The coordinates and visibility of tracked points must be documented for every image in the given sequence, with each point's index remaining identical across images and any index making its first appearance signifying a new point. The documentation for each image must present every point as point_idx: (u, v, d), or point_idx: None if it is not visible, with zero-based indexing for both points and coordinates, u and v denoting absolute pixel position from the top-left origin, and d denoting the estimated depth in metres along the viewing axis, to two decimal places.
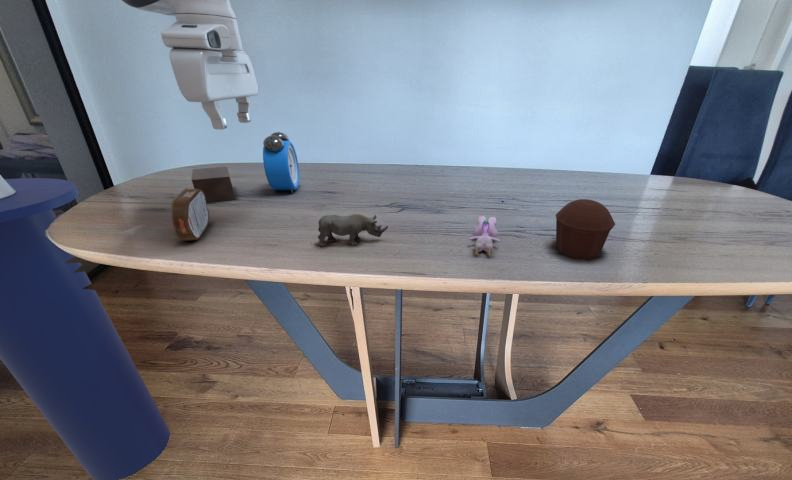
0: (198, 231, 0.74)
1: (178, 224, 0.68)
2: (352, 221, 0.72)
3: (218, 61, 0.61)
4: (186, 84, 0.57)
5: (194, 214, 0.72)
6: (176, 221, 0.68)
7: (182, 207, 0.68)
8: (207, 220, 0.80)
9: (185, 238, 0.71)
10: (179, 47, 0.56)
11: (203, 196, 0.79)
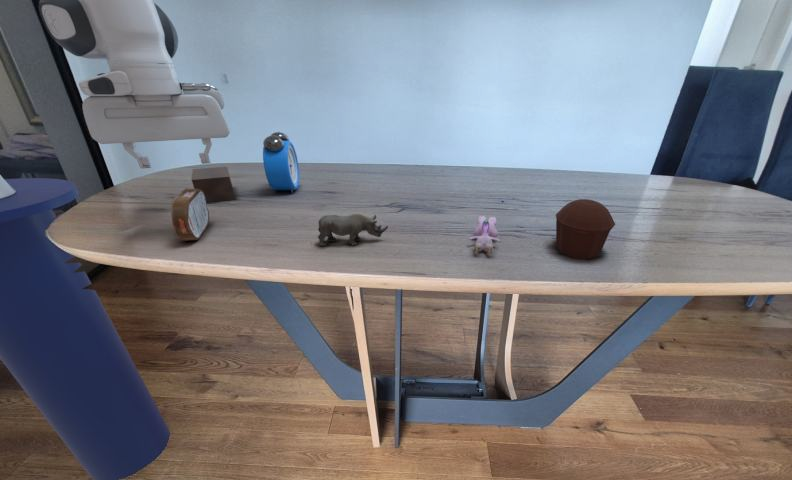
0: (198, 231, 0.74)
1: (178, 224, 0.68)
2: (352, 221, 0.72)
3: (129, 106, 0.62)
4: None
5: (194, 214, 0.72)
6: (176, 221, 0.68)
7: (182, 207, 0.68)
8: (207, 220, 0.80)
9: (185, 238, 0.71)
10: None
11: (203, 196, 0.79)
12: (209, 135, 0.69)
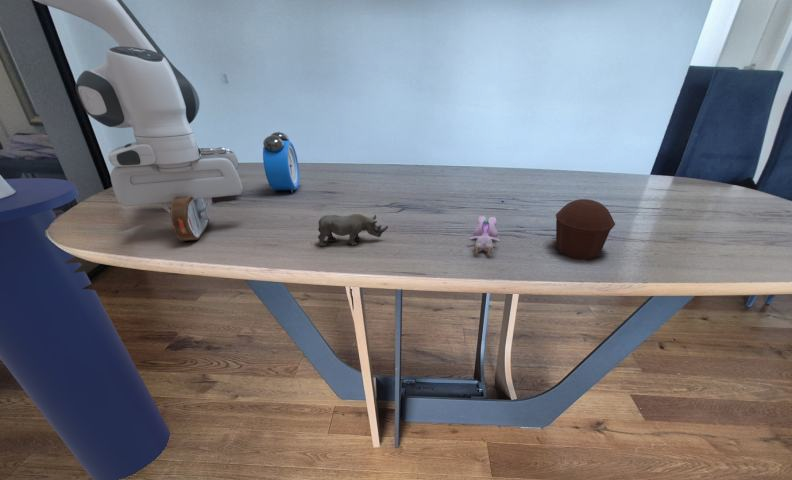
0: (198, 231, 0.74)
1: (178, 224, 0.68)
2: (352, 221, 0.72)
3: (152, 172, 0.67)
4: None
5: (194, 214, 0.72)
6: (176, 221, 0.68)
7: (182, 207, 0.68)
8: (207, 220, 0.80)
9: (185, 238, 0.71)
10: None
11: None
12: (224, 193, 0.74)
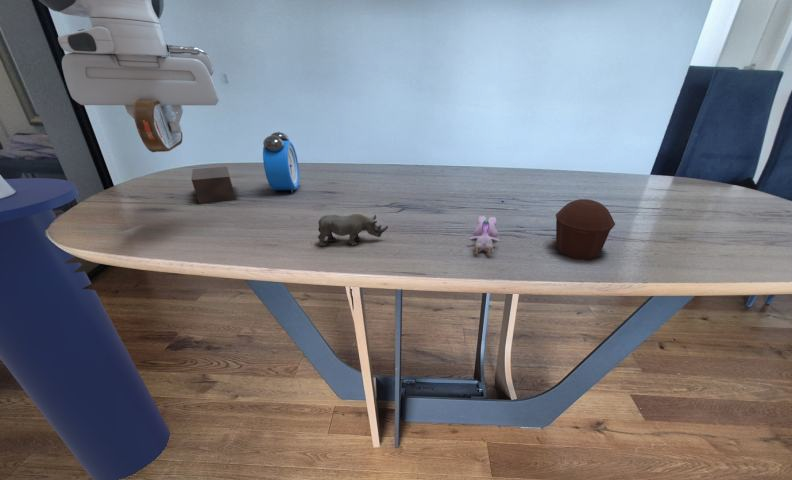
0: (168, 143, 0.66)
1: (142, 127, 0.60)
2: (352, 221, 0.72)
3: (111, 66, 0.59)
4: None
5: (162, 121, 0.64)
6: (140, 123, 0.60)
7: (146, 107, 0.60)
8: (180, 138, 0.72)
9: (153, 146, 0.62)
10: None
11: None
12: (197, 102, 0.66)
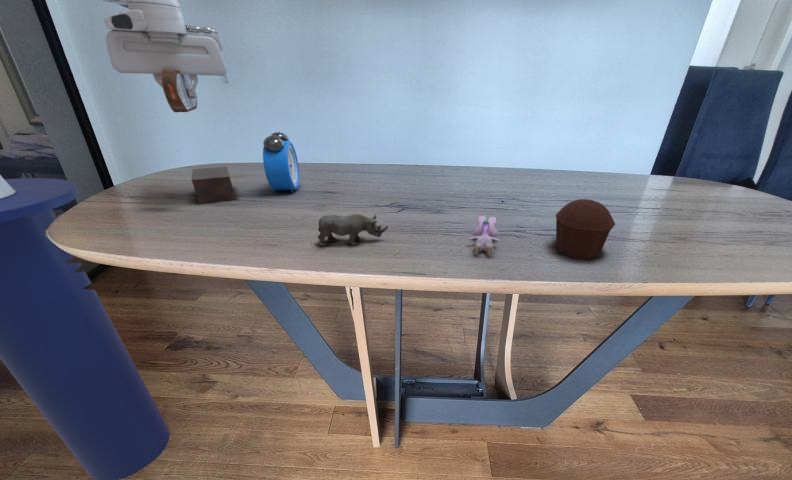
0: (187, 105, 0.81)
1: (168, 89, 0.76)
2: (352, 221, 0.72)
3: (143, 41, 0.74)
4: None
5: (182, 87, 0.80)
6: (166, 86, 0.75)
7: (171, 74, 0.76)
8: (195, 104, 0.87)
9: (175, 106, 0.78)
10: None
11: (190, 80, 0.86)
12: (210, 72, 0.82)
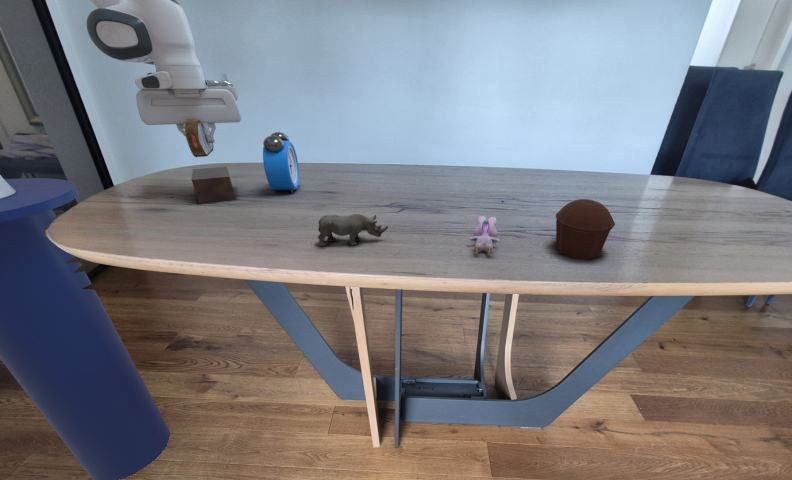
0: (206, 150, 0.91)
1: (191, 139, 0.85)
2: (352, 221, 0.72)
3: (168, 97, 0.84)
4: None
5: (202, 135, 0.89)
6: (189, 136, 0.84)
7: (193, 125, 0.85)
8: (212, 146, 0.97)
9: (197, 153, 0.87)
10: None
11: (207, 125, 0.95)
12: (226, 120, 0.91)
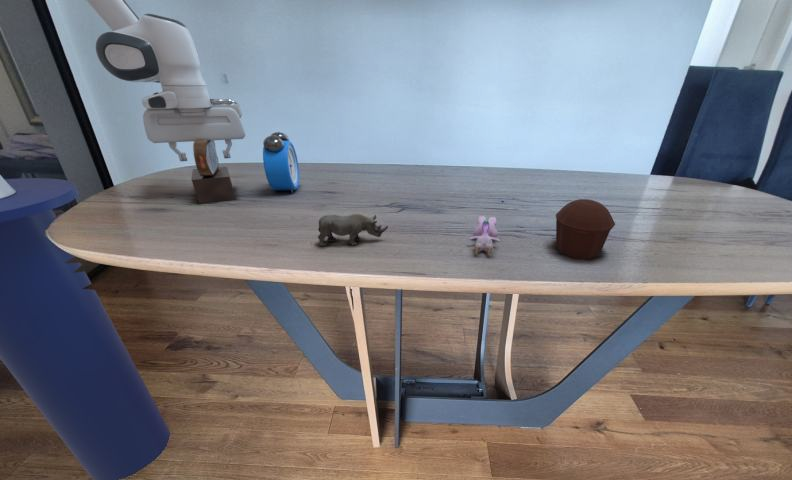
0: (212, 170, 0.93)
1: (199, 160, 0.87)
2: (352, 221, 0.72)
3: (174, 116, 0.85)
4: None
5: (209, 155, 0.91)
6: (197, 157, 0.87)
7: (202, 147, 0.87)
8: (217, 164, 0.99)
9: (203, 173, 0.90)
10: None
11: (214, 144, 0.98)
12: (230, 137, 0.93)
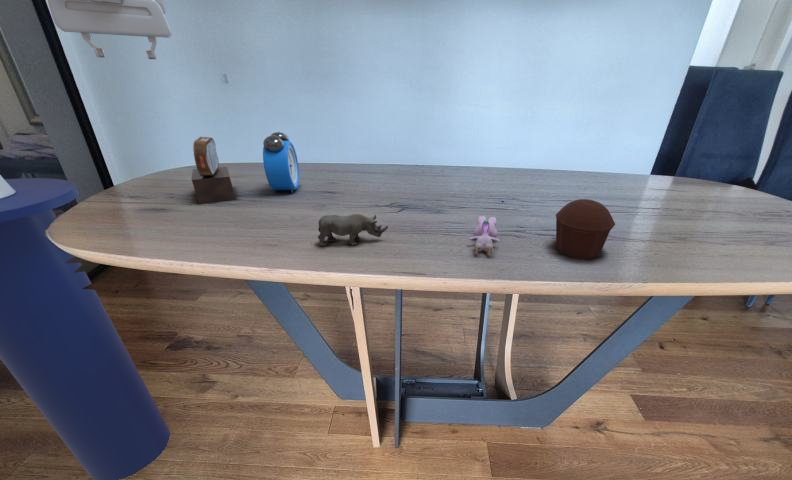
0: (212, 170, 0.93)
1: (199, 160, 0.87)
2: (352, 221, 0.72)
3: (85, 0, 0.78)
4: None
5: (209, 155, 0.91)
6: (197, 157, 0.87)
7: (202, 147, 0.87)
8: (217, 164, 0.99)
9: (203, 173, 0.90)
10: None
11: (214, 144, 0.98)
12: (153, 33, 0.86)
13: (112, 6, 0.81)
